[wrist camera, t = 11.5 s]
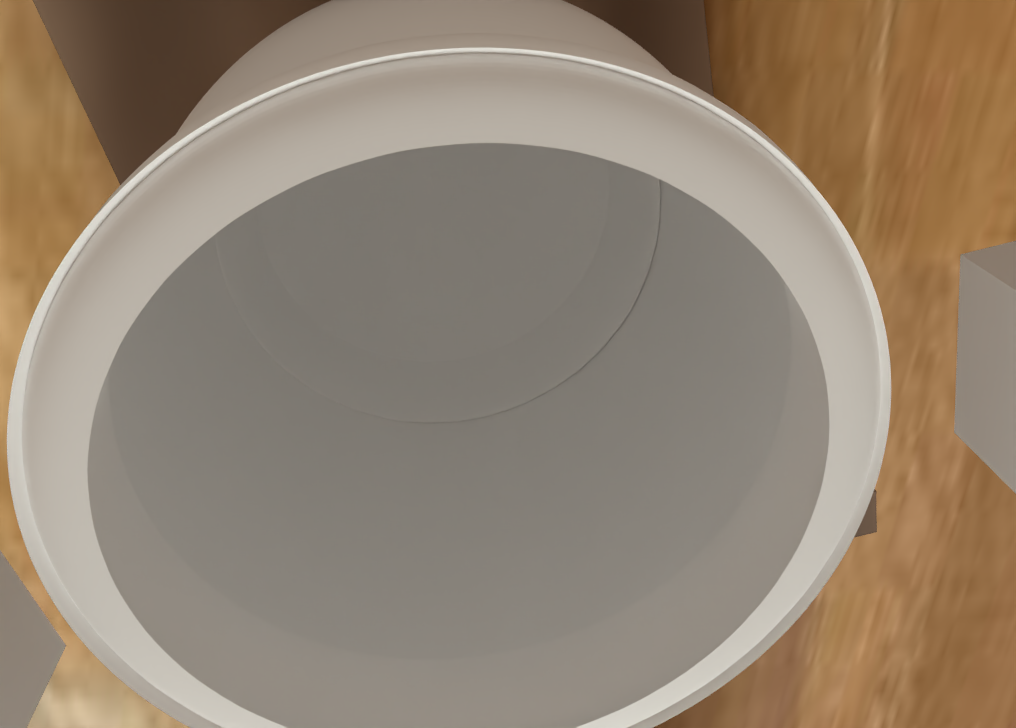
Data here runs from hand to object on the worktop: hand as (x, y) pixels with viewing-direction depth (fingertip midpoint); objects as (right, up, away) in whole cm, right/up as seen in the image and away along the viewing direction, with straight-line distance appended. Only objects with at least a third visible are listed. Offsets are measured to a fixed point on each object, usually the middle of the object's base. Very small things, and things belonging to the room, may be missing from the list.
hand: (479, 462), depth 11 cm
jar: (-2, +7, +12) cm, 14 cm away
